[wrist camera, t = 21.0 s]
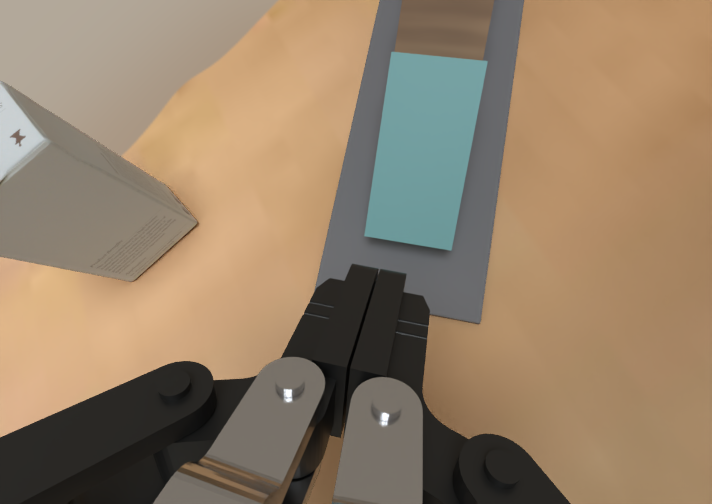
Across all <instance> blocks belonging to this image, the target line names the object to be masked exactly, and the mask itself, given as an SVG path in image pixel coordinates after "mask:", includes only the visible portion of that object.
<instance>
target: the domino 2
mask: <svg viewBox="0 0 712 504" xmlns="http://www.w3.org/2000/svg"><path fill="white" fill-rule="evenodd" d="M487 63H488V61H481V60H471V59H461V58H451V57H441V56H430V55H420V54H410V53H400V52H391V58H390V65H389V72H388V78H387V85H386V92H385V99H384V106H383V112H382V119H381V126H380V133H379V139H378V146H377V153H376V160H375V167H374V173H373V180H372V187H371V194H370V201H369V207H368V214H367V221H366V228H365V234H364V236H367V237H373V238H379V239H385V240H391V241H397V242H403V243H408V244H414V245H420V246H426V247H432V248H438V249H444V250H450V251H451V250H452V245H453V240H454V235H455V229H456V224H457V219H458V214H459V209H460V203H461V198H462V193H463V188H464V182H465V177H466V172H467V167H468V162H469V156H470V151H471V146H472V141H473V136H474V130H475V125H476V120H477V115H478V110H479V104H480V99H481V94H482V89H483V83H484V78H485V73H486V68H487Z"/></svg>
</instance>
